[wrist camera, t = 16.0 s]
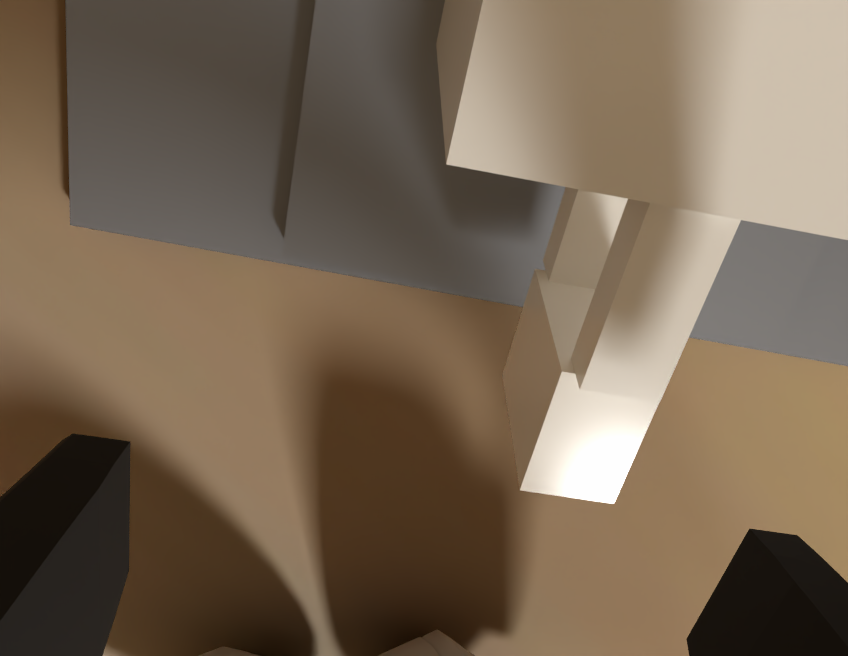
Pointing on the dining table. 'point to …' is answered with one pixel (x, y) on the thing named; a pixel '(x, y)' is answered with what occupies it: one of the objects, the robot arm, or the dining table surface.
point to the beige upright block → (638, 187)
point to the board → (355, 162)
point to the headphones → (430, 652)
